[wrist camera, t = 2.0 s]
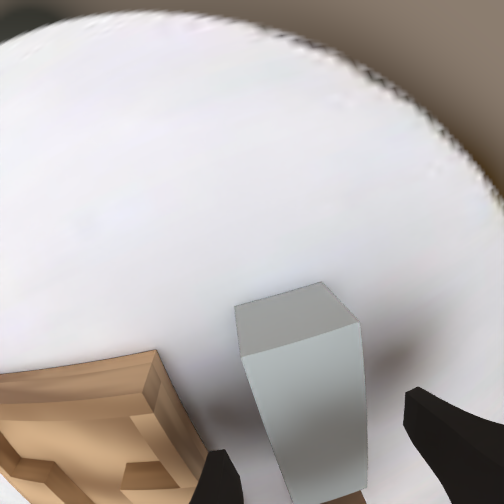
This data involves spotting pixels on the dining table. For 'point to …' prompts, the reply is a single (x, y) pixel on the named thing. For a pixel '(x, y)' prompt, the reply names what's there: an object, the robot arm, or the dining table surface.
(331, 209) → the dining table surface
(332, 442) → the grey square post
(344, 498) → the brown wooden block
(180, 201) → the dining table surface
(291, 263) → the dining table surface
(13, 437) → the jig
